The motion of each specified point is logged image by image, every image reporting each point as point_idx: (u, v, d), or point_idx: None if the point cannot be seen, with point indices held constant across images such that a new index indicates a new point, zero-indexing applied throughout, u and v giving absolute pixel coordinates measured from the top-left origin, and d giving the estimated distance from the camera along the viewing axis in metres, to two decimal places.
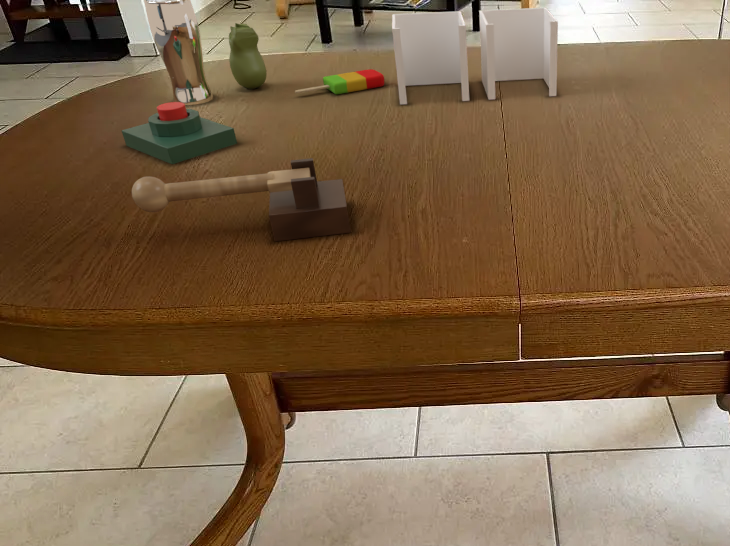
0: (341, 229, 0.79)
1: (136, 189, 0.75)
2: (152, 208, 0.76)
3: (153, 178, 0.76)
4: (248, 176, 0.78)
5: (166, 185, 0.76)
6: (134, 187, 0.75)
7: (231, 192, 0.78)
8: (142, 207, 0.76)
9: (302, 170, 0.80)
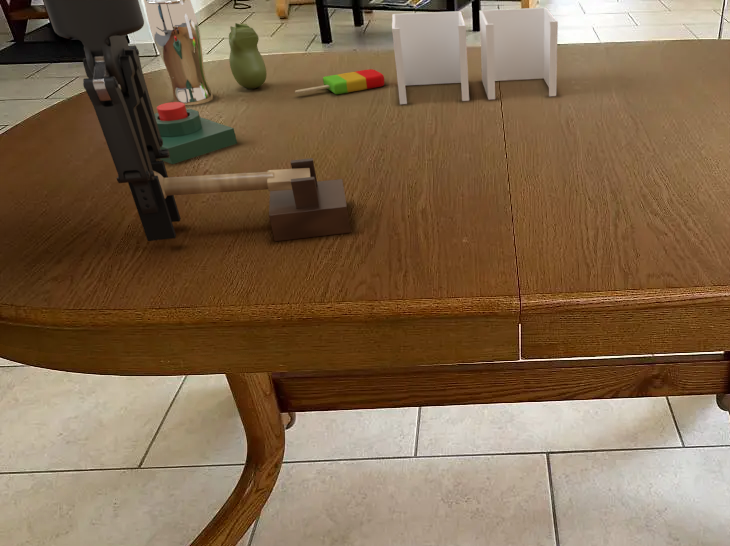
0: (341, 229, 0.79)
1: None
2: None
3: None
4: (248, 174, 0.78)
5: (165, 179, 0.76)
6: None
7: (230, 189, 0.77)
8: None
9: (303, 170, 0.80)
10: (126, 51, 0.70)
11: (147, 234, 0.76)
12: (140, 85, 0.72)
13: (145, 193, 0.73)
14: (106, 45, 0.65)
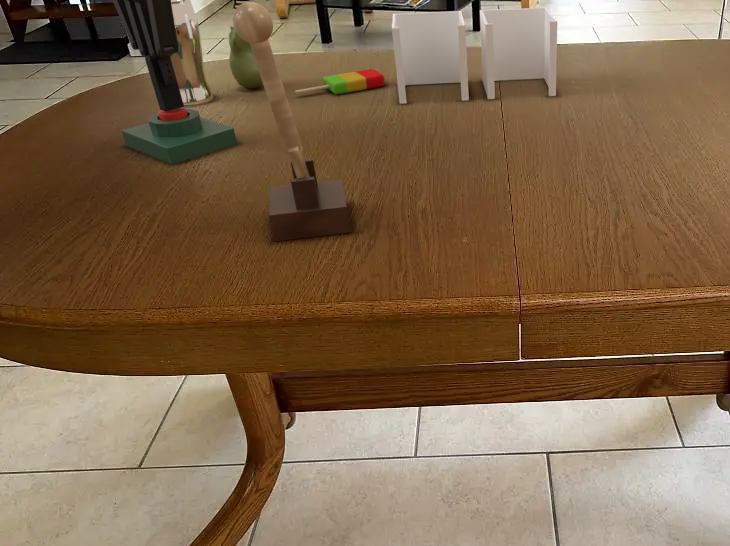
0: (341, 229, 0.79)
1: (260, 11, 0.68)
2: (242, 29, 0.69)
3: (272, 27, 0.70)
4: (295, 126, 0.76)
5: (268, 42, 0.71)
6: (261, 9, 0.69)
7: (276, 111, 0.74)
8: (240, 17, 0.68)
9: (308, 174, 0.80)
10: None
11: (165, 105, 0.99)
12: None
13: (168, 67, 0.96)
14: None
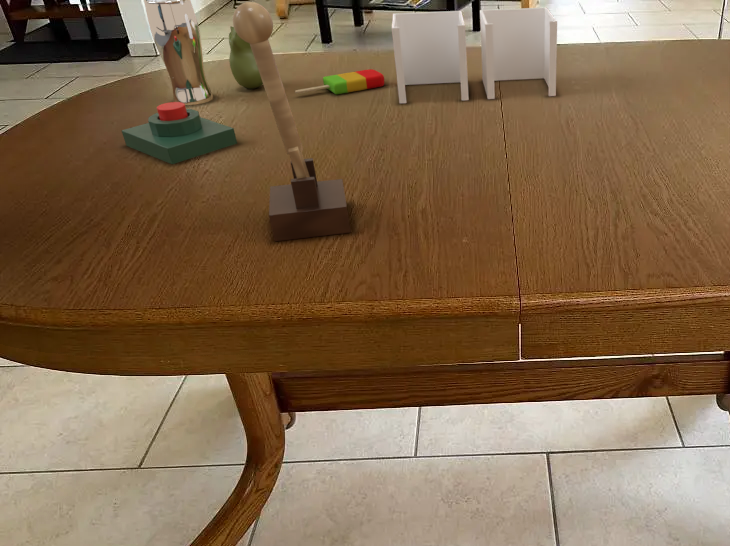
0: (341, 229, 0.79)
1: (260, 11, 0.68)
2: (242, 29, 0.69)
3: (272, 27, 0.70)
4: (295, 126, 0.76)
5: (268, 42, 0.71)
6: (261, 9, 0.69)
7: (276, 111, 0.74)
8: (240, 17, 0.68)
9: (308, 174, 0.80)
10: None
11: None
12: None
13: None
14: None
